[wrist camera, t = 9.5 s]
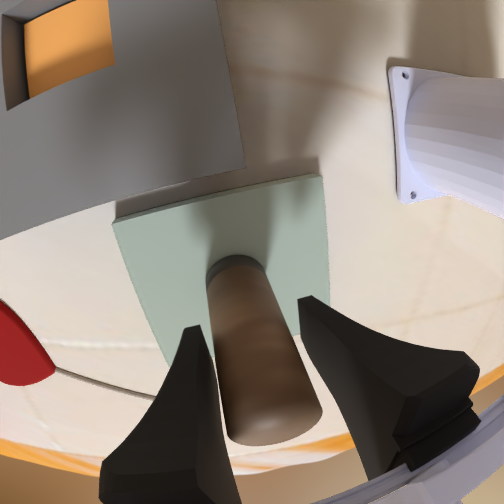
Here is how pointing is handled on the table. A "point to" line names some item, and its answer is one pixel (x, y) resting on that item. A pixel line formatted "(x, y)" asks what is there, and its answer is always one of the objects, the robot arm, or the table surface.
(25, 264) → the table surface
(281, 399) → the brown cylinder
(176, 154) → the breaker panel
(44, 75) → the button
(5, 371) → the lollipop
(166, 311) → the pad
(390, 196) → the table surface
